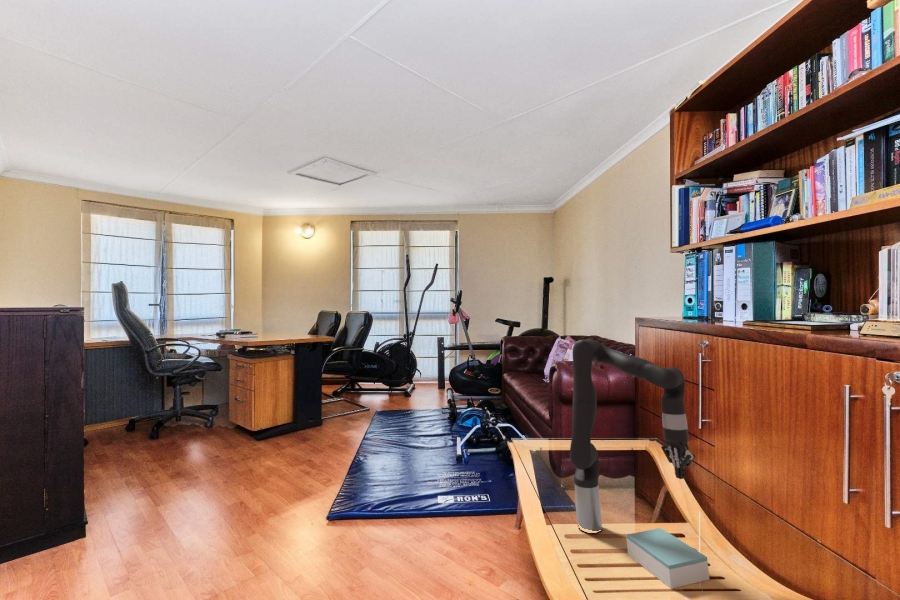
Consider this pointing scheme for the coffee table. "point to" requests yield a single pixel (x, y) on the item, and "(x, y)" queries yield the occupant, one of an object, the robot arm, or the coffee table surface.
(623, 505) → the coffee table surface
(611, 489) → the coffee table surface
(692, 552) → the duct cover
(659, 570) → the open box
